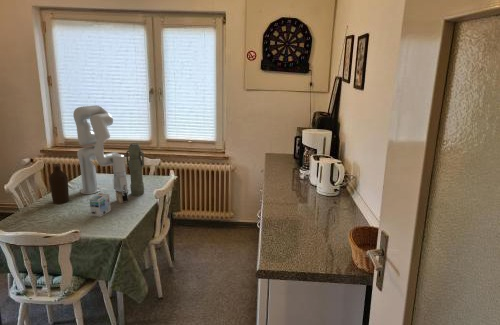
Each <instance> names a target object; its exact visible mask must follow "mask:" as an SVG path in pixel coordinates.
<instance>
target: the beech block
mask: <svg viewBox="0 0 500 325" xmlns="http://www.w3.org/2000/svg"><path fill="white" fill-rule="evenodd" d="M124 193H125V192H124ZM122 196H123V194H122V192H115V197H116V200H115V201H116V202H117V203H119V204H122V203H126V202H127V201H124V202H123V197H122Z"/></svg>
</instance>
